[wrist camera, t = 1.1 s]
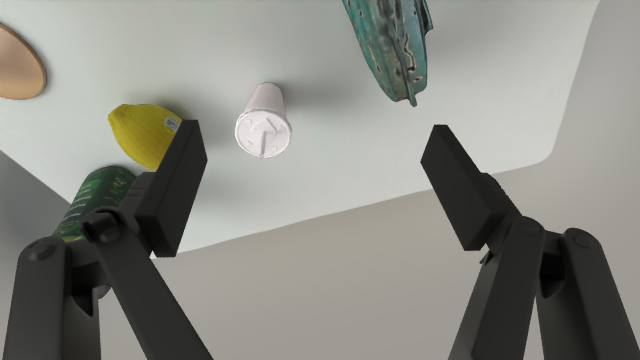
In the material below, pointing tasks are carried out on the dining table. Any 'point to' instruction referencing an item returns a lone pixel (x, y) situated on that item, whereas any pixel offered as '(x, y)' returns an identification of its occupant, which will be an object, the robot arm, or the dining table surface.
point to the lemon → (144, 132)
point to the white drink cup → (264, 123)
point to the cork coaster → (19, 68)
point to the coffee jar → (95, 203)
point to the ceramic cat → (393, 43)
